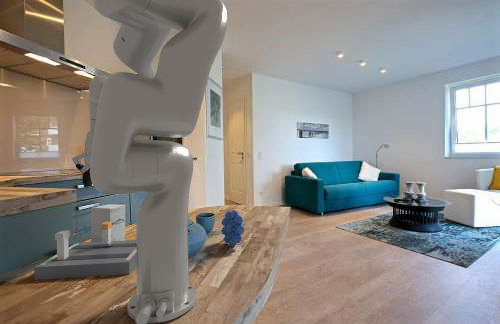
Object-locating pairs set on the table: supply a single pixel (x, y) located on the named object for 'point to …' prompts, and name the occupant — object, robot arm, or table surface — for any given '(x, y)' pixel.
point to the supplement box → (108, 214)
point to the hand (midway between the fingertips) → (105, 186)
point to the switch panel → (87, 259)
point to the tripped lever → (106, 234)
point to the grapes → (232, 227)
